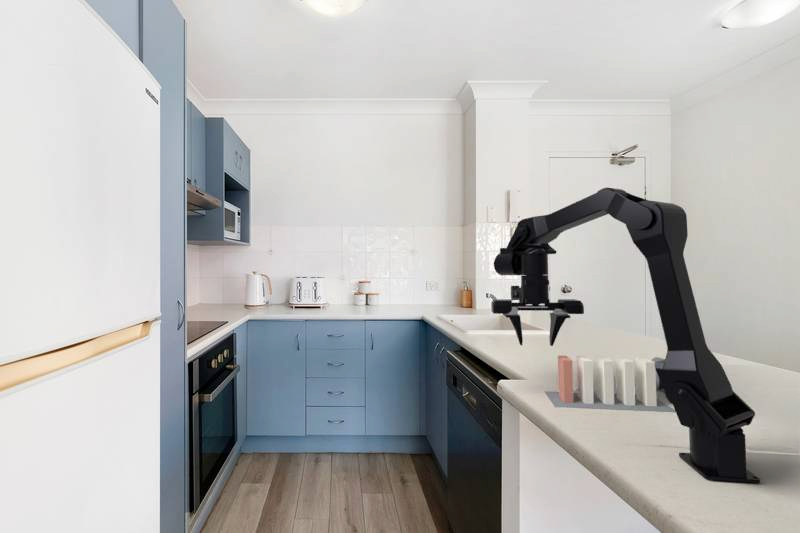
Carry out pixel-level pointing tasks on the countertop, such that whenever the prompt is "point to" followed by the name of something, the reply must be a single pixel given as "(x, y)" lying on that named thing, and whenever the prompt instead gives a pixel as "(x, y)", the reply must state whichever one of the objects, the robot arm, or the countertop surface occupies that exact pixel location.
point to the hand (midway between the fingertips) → (536, 345)
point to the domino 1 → (565, 379)
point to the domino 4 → (625, 380)
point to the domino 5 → (646, 381)
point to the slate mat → (599, 404)
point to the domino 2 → (585, 379)
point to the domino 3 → (605, 380)
